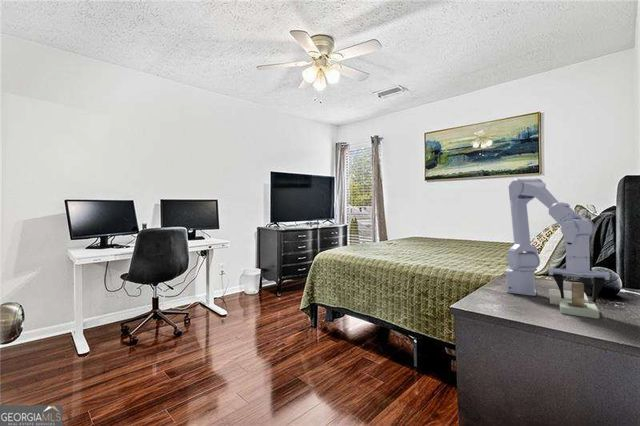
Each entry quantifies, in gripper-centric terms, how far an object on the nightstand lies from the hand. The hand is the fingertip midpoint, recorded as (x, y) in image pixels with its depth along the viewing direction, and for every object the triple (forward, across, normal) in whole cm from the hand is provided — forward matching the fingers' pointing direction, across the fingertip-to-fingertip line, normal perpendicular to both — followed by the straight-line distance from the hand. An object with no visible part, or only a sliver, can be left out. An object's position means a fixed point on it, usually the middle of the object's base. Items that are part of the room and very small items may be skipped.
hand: (577, 299), depth 97 cm
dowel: (+4, 0, 0) cm, 4 cm away
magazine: (+4, +5, +33) cm, 34 cm away
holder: (+4, 0, 0) cm, 4 cm away
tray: (+4, -2, +10) cm, 11 cm away
